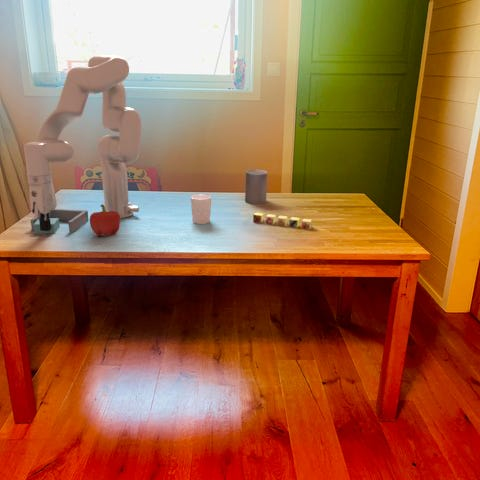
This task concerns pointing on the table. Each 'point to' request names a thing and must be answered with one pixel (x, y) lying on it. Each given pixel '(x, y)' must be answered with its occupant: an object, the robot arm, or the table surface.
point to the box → (68, 218)
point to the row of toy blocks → (282, 220)
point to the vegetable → (105, 222)
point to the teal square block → (54, 226)
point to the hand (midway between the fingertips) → (45, 230)
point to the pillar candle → (256, 186)
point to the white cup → (201, 208)
